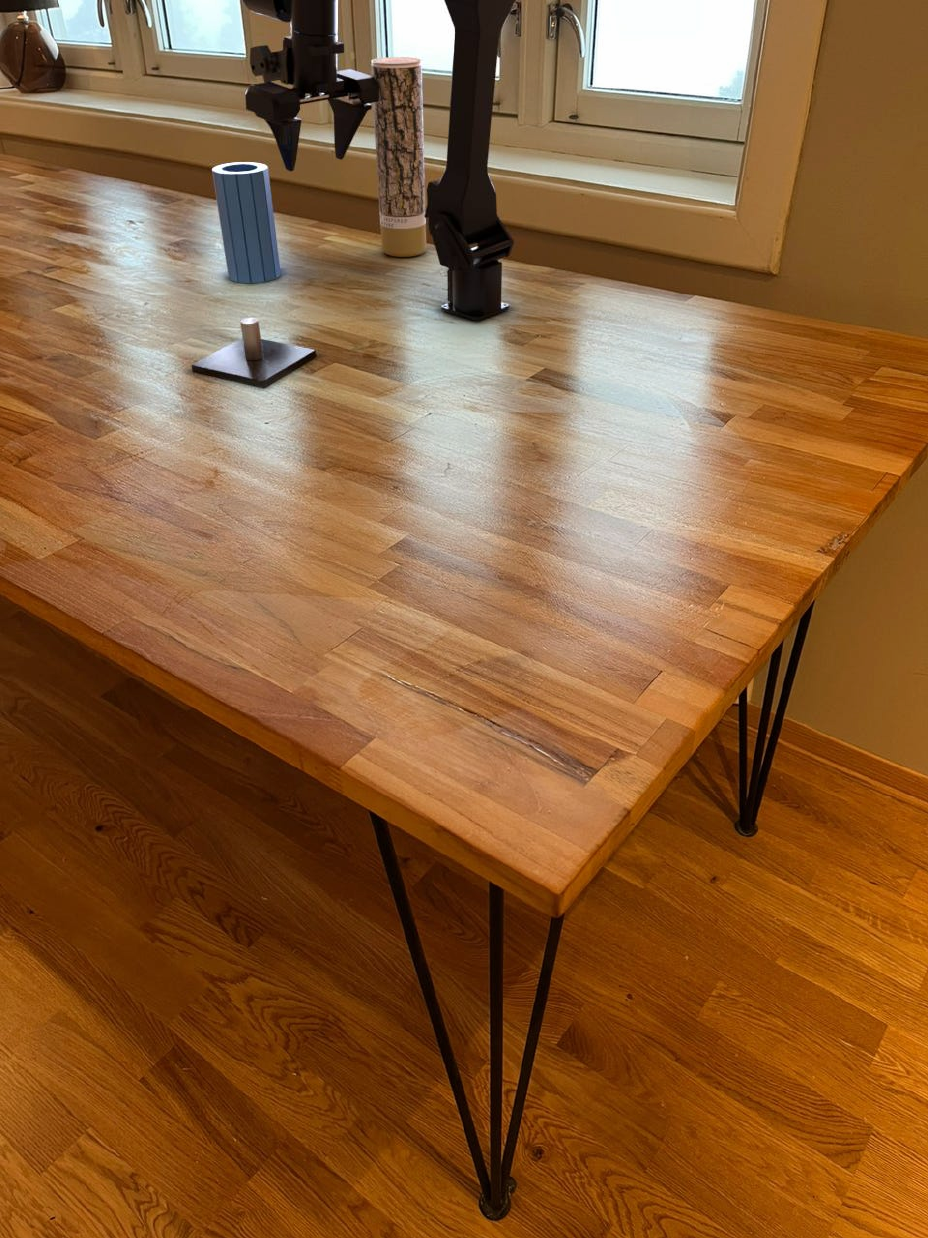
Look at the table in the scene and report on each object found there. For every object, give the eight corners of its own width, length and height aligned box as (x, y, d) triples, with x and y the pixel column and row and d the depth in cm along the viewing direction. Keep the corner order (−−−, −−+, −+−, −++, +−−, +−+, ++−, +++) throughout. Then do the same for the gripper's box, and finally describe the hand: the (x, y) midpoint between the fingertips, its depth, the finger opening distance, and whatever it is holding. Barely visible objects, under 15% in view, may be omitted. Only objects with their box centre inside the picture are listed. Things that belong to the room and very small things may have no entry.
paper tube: (420, 259, 137) (414, 64, 122) (376, 257, 139) (364, 62, 123) (431, 246, 143) (426, 57, 128) (388, 244, 144) (378, 56, 129)
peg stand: (316, 356, 108) (312, 313, 105) (264, 388, 101) (258, 343, 98) (247, 342, 112) (241, 300, 109) (192, 371, 105) (184, 327, 102)
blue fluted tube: (290, 274, 132) (278, 167, 124) (249, 286, 128) (234, 176, 119) (259, 264, 136) (245, 159, 128) (218, 275, 132) (201, 168, 123)
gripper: (322, 11, 124) (322, 137, 135) (211, 22, 113) (221, 159, 123) (383, 29, 120) (379, 158, 130) (274, 43, 108) (278, 183, 119)
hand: (315, 164), depth 126 cm, fingers open, 9 cm apart
